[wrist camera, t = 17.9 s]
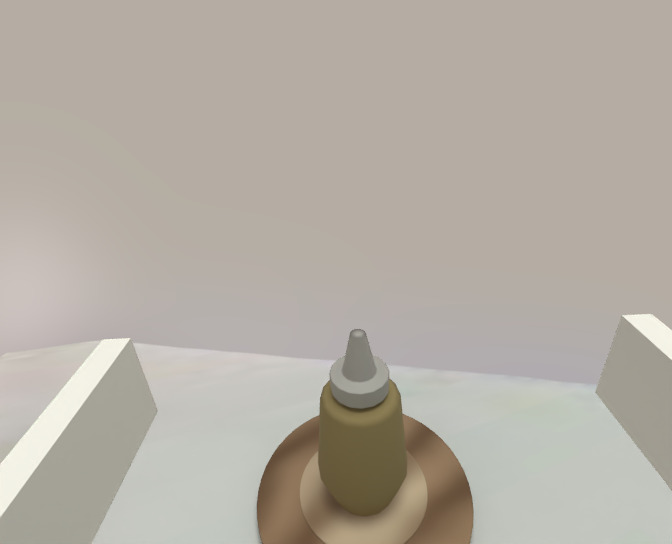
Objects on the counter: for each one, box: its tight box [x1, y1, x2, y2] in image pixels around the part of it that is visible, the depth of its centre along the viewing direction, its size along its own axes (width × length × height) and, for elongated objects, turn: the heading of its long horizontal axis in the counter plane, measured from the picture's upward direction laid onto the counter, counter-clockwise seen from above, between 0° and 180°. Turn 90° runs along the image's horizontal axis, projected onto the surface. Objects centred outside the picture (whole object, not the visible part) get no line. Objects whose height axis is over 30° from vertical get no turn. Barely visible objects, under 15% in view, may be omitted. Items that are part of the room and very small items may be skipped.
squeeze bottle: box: [318, 329, 407, 517], centre depth 33 cm, size 8×8×18 cm
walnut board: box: [257, 414, 473, 544], centre depth 38 cm, size 20×20×2 cm
